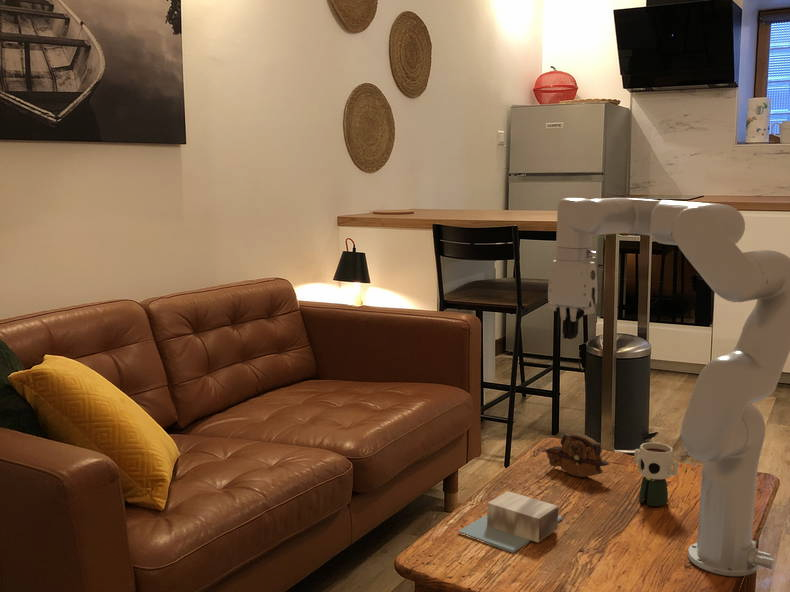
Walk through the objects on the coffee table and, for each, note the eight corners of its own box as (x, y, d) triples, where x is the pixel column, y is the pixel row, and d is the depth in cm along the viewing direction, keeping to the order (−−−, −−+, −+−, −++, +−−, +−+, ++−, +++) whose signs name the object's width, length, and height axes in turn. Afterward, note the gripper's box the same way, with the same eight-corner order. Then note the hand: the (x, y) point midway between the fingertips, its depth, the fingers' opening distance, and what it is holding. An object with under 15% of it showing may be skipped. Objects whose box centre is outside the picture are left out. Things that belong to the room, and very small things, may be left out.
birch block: (559, 506, 168) (508, 491, 175) (539, 519, 162) (487, 502, 169) (558, 529, 169) (507, 513, 176) (538, 542, 162) (487, 525, 170)
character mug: (623, 499, 186) (626, 444, 183) (641, 491, 190) (644, 437, 188) (665, 515, 177) (668, 457, 175) (683, 506, 182) (687, 450, 179)
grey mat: (562, 519, 175) (562, 516, 175) (513, 553, 159) (513, 550, 159) (509, 503, 183) (509, 500, 183) (458, 533, 168) (458, 531, 167)
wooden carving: (541, 470, 203) (542, 431, 201) (549, 465, 206) (551, 427, 205) (604, 486, 193) (606, 445, 191) (612, 480, 197) (614, 440, 195)
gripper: (613, 256, 176) (609, 339, 179) (551, 251, 185) (548, 330, 188) (597, 259, 170) (593, 345, 173) (534, 254, 180) (531, 336, 182)
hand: (570, 337), depth 181 cm, fingers closed
